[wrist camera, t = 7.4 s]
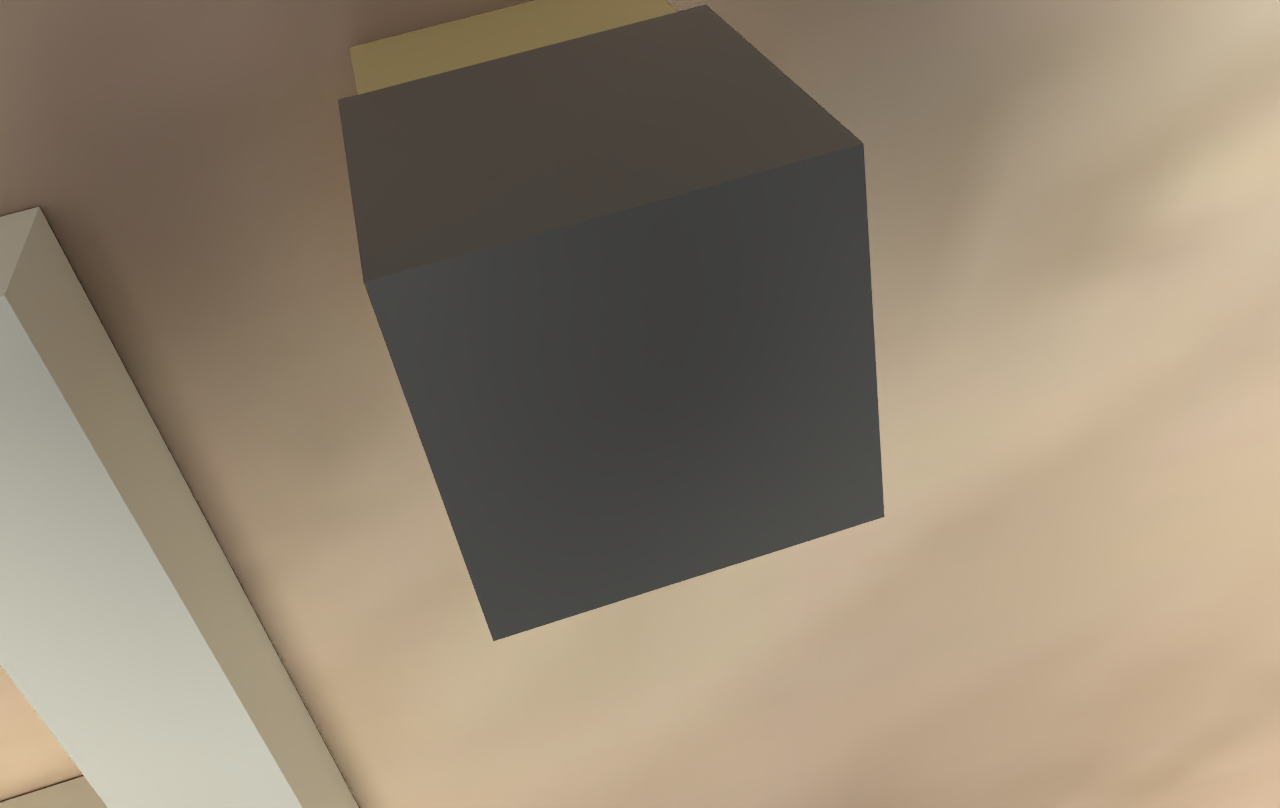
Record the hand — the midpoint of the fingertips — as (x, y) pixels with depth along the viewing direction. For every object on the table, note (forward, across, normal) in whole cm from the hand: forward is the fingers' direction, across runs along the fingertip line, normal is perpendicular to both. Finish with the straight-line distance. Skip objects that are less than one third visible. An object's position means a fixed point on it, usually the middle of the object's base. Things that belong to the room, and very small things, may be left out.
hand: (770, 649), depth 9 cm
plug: (+10, 0, 0) cm, 10 cm away
